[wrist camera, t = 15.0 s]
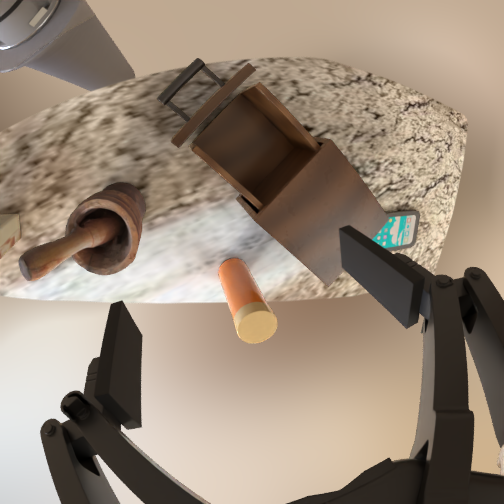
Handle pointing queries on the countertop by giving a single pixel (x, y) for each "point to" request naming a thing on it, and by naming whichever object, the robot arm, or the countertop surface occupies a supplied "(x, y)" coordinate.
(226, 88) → the drawer
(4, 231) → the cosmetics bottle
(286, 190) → the cabinet
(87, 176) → the countertop surface
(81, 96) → the countertop surface
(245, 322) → the spice jar
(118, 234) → the mortar and pestle
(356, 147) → the countertop surface
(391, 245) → the smartphone
